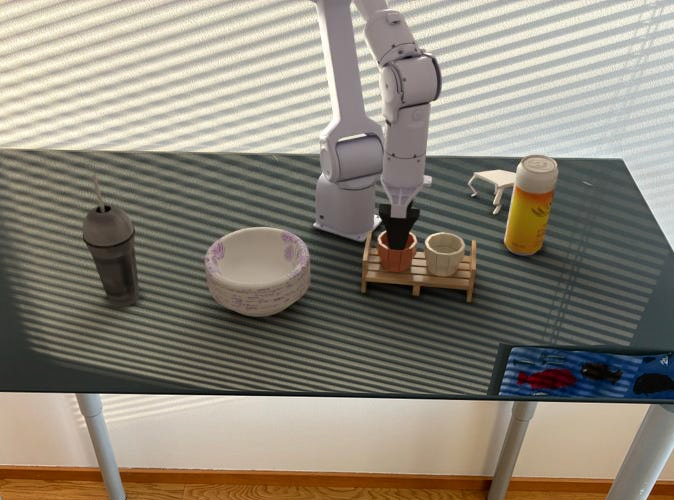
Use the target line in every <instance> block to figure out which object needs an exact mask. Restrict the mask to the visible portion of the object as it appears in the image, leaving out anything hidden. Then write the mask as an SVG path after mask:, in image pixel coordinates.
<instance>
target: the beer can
mask: <svg viewBox="0 0 674 500" xmlns="http://www.w3.org/2000/svg"><path fill="white" fill-rule="evenodd" d="M515 173H516V177H515V182H514V186H513V189H512V194H511V200H510V203H509V211H508V215H507V216H508V217H507V221H506V227H505V233H504V237H503V242H504V245H505V246H506V248H507V249H508V251H510V252H511V253H512V254H514V255H517V256H531V255H534V254H536V253H537V252H538V251H540V250H541V249H542V247H543V243H544V240H545V236H546V235H545V234H546V231H547V225H548V222H549V217H550V214H551V207H552V204H553V199H554V194H555V190H556V185H557V181H558V176H559V169H558V163H557V161H556V160H555V159H554V158H552V157H550V156H548V155H544V154H529V155H526V156H524V157H523V158H522V159H521V160H520V162H519V164H518V165H517V166H516V172H515Z"/></svg>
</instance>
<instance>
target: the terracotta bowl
mask: <svg viewBox="0 0 674 500" xmlns="http://www.w3.org/2000/svg"><path fill="white" fill-rule="evenodd" d="M376 248H377V252H378V256H379V257H380V264H381V266H382V267H383V268H384V269H386V270H387V271H390V272H403V271H405V270H407V269H408V268H409V267H410V266H411V265H412V259H413V258H414V256H415V255H416V252H418V251H417V249H418V239H417V237H416V235H415V234H414V233H412V232H411V231H410V233H409V236H408V240H407V243H406V246H405V248H404V250H390V249H389V245H388V240H387V234H386V230H383V231H382V232H381V233H380V234H379V235H378V236H377V239H376Z"/></svg>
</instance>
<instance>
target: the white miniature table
mask: <svg viewBox="0 0 674 500" xmlns="http://www.w3.org/2000/svg"><path fill="white" fill-rule="evenodd" d="M515 177H516V172H513V171H507V170H502V169H495V170H485V171H478V172H477V171H476V172H473V175H472V177H471V178H470V179H469V181H468V183H467V186H468V187H469V188H470V189H471V191H472V192H473V194H471V197H475V196H476V195H478V192H477V191H476V189H475V187H473V185H472V184H473V183H474V182H475V181H476V180H478V179H480V180H482V181H484V182H487V183H490V184H492V185H494V192H493V195H495V197H494V200H493V205H494V206H496V208H495V209H494V210H493V212H492V214H493V215H496V214H498V213H499V211H500V210H501V208H502V204H501V203H500V201H501V199H502V196H503V192H504V189H506V188H512V187H514V182H515Z"/></svg>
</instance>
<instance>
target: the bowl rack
mask: <svg viewBox="0 0 674 500" xmlns="http://www.w3.org/2000/svg"><path fill="white" fill-rule="evenodd" d="M372 236H373V232H368V234H367V239H366V240H365V246H364V251H363V256H362V263H361V264H362V266H361V269H362V270H361V271H362V272H361V288H360V289H361V291H360V292H361V293H362V294H363V293H364V294H365V293H366V290H367V286H368V285H367V284H368V282H371V283H381V284H382V283H383V284H393V285H394V284H395V285H396V284H397V285H406V286H412V296H417V297H418V296H420V293H421V292H420V290H421V287H427V288H428V287H429V288H441V289H451V290H452V289H453V290H461V291H462V290H464V291H466V303H472V298H473V291H474V286H475V285H474V284H475V280H476V279H475V278H476V273H477V240H476V239H472V240H471V245H470V252H469V255H464V258H463V260H462V261H461V262H460V264H459V268H458V270H457V271H456V273H454V274H452V275H450V276H446V277H441V276H436V275H434V274H432V273H431V272H430V271H429V270H428V269H427V266H426V259H425V256H424V251H416V255H415V256H414V258H413V259H412V265H411V266H410V267H409V268H408V269H407V270H405V271H403V272H390V271H387V270H386V269H384V268H383V267H382V266H381V264H380V257H379V256H378V252H377V247H376V248H375V247H372V240H373V239H372V238H373V237H372Z"/></svg>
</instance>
